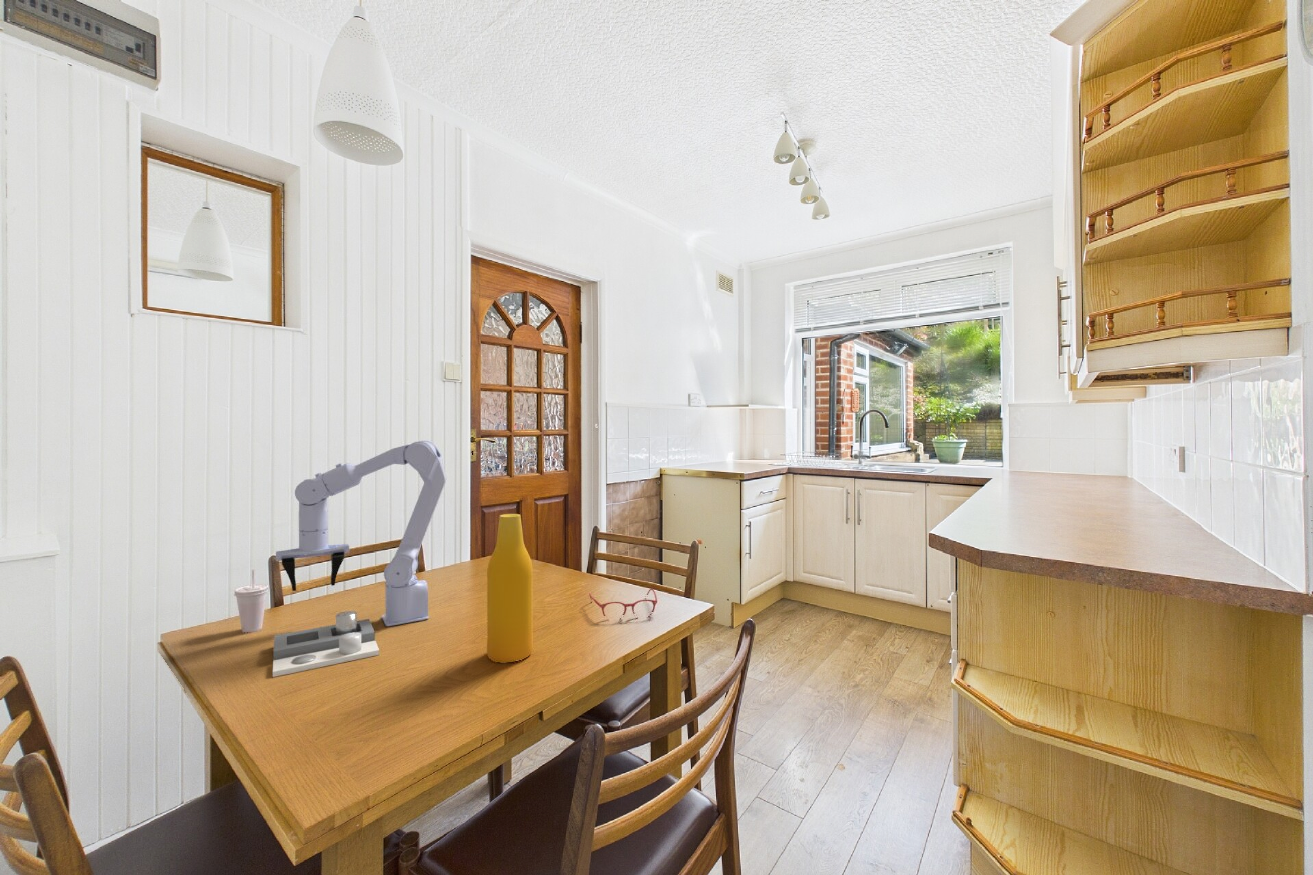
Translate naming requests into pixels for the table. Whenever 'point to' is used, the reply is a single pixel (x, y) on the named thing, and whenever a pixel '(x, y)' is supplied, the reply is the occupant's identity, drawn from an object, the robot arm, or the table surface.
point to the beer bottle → (509, 594)
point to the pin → (346, 623)
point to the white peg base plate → (328, 655)
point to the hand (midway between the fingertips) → (313, 587)
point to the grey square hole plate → (316, 640)
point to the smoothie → (251, 605)
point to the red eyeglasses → (626, 604)
